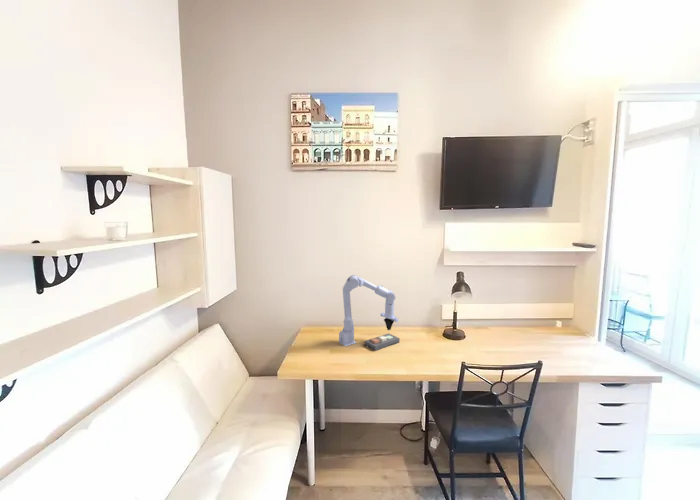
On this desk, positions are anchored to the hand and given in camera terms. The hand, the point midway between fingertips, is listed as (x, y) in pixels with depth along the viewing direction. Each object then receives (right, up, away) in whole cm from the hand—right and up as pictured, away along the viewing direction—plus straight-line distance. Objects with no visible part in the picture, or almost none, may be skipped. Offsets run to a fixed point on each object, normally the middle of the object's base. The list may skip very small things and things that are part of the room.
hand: (388, 329), depth 215 cm
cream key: (-5, -6, -3) cm, 8 cm away
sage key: (0, -7, +1) cm, 7 cm away
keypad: (-5, -9, -2) cm, 10 cm away
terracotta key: (-9, -7, -6) cm, 13 cm away
